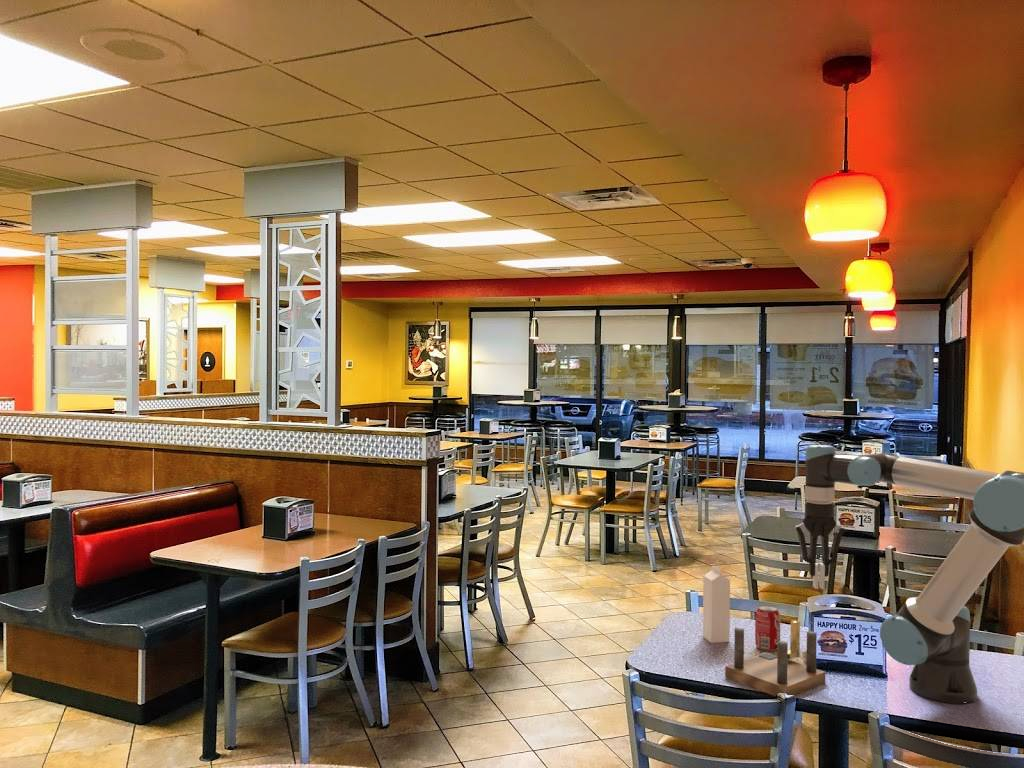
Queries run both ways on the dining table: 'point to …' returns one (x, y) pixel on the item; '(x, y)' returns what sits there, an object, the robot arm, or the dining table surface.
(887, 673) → the dining table surface
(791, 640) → the hinged leg
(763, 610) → the soda can
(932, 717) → the dining table surface
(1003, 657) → the dining table surface
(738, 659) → the stool seat
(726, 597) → the milk
